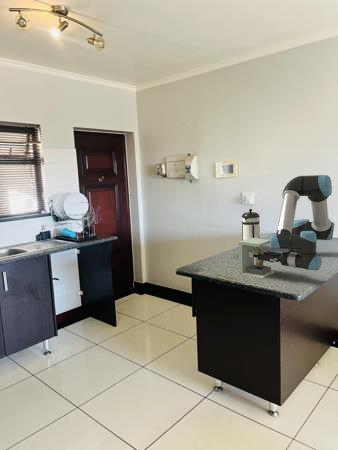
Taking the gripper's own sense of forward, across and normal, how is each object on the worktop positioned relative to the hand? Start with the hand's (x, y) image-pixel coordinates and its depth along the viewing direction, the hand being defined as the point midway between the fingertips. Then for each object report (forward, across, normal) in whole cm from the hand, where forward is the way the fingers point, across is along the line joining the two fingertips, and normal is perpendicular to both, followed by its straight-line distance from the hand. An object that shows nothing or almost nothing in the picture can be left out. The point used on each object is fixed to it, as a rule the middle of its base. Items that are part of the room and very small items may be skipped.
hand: (251, 253), depth 198 cm
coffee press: (+29, +48, -11) cm, 57 cm away
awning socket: (-4, -1, -10) cm, 11 cm away
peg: (-5, 0, -6) cm, 8 cm away
